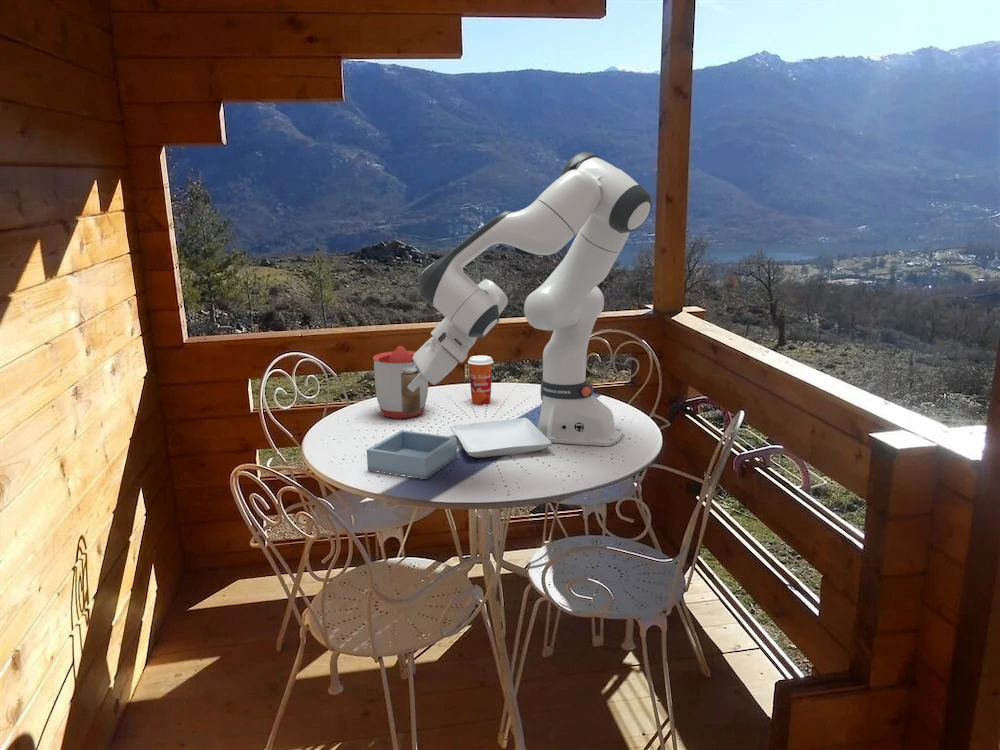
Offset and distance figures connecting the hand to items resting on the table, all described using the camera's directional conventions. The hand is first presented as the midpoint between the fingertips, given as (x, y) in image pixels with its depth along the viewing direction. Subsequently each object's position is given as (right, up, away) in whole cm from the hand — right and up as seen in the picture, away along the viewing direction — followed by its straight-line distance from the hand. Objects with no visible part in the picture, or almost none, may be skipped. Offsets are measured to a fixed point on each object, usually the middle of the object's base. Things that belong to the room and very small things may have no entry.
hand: (408, 386), depth 153 cm
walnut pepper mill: (+1, -6, +1) cm, 6 cm away
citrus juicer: (-7, -9, +45) cm, 46 cm away
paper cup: (+15, -6, +55) cm, 57 cm away
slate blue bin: (+1, -18, +5) cm, 19 cm away
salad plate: (+20, -15, +18) cm, 31 cm away
